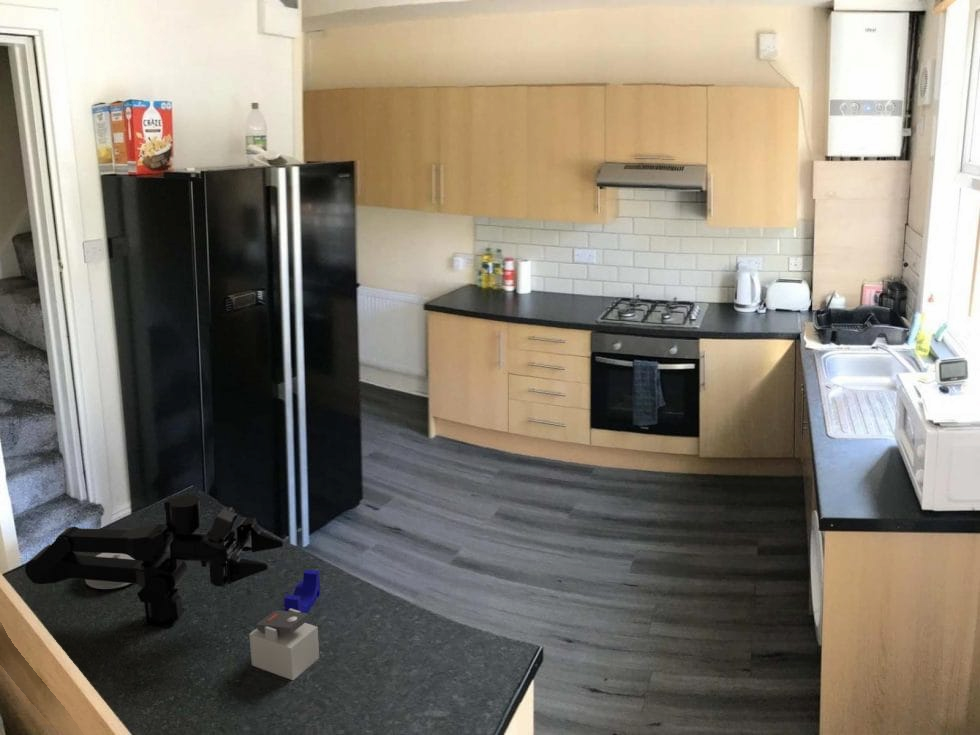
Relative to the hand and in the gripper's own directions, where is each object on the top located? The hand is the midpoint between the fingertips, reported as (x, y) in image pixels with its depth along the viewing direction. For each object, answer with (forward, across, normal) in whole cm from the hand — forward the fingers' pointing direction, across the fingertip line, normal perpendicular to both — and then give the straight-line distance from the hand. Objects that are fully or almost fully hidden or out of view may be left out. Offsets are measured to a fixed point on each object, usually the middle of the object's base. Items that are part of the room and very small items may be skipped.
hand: (275, 555), depth 188 cm
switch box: (+6, -12, +16) cm, 21 cm away
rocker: (+5, -12, +7) cm, 15 cm away
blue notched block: (+3, +7, +17) cm, 19 cm away
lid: (-43, +14, +19) cm, 49 cm away
